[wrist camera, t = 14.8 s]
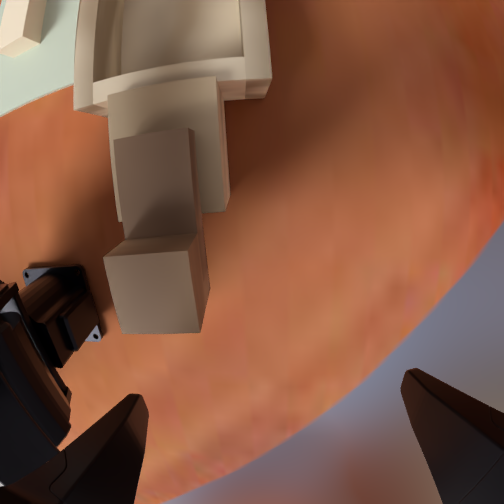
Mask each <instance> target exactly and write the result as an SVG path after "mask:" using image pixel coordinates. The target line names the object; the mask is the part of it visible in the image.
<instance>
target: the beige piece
mask: <svg viewBox="0 0 504 504" xmlns="http://www.w3.org/2000/svg"><path fill="white" fill-rule="evenodd" d="M271 80H272V68H271V57H270V46H269V35H268V25H267V15H266V5H265V0H81V4H80V11H79V18H78V27H77V36H76V48H75V63H74V110H76V111H81V112H85V113H90V114H94V115H99V116H103V117H107V118H108V127H109V143H110V156H111V167H112V177H113V186H114V194H115V202H116V209H117V216H118V222H122V216H121V209H120V201H119V194H118V185H117V176H116V167H115V156H114V143H113V140H115V139H120V138H125V137H130V136H135V135H141V134H147V133H153V132H159V131H166V130H173V129H180V128H190V129H192V130H194V131H195V143H196V156H197V168H198V180H199V191H200V202H201V212H202V213H214V212H225V211H226V208H227V204H228V201H229V198H230V195H231V194H230V181H229V168H228V154H227V140H226V125H225V110H224V101H228V100H241V99H259V98H265V96H266V93H267V91H268V88H269V85H270V83H271Z"/></svg>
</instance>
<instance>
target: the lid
mask: <svg viewBox="0 0 504 504" xmlns="http://www.w3.org/2000/svg"><path fill="white" fill-rule="evenodd" d="M80 4H81V0H2V2H1V6H0V117H2V116H4V115H5V114H7V113H9V112H11V111H13V110H15V109H17V108H19V107H22V106H24V105H26V104H28V103H30V102H32V101H35V100H37V99H39V98H41V97H44V96H46V95H49V94H51V93H53V92H56V91H58V90H61V89H64V88H66V87H69V86H72V85H74V63H75V48H76V36H77V27H78V18H79V11H80Z"/></svg>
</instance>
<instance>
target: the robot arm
mask: <svg viewBox="0 0 504 504" xmlns="http://www.w3.org/2000/svg"><path fill="white" fill-rule="evenodd" d="M77 270H79V272H80V274H79V273H78V272H77ZM27 273H28V274H29V275H28V274H27ZM23 277H24V281H25V284H26V287H25V288H23V289H22V290H21V291H19V289H18V286H17V283H16V282H13V283H9V284H4V282H2V281H1V280H0V483H1V484H2V485H4V486H2V487H0V504H134V500H135V495H136V491H137V486H138V481H139V476H140V472H141V467H142V463H143V458H144V453H145V446H146V436H147V427H148V418H149V412H148V409H147V406H146V404H145V401H144V399H143V397H142V395H140V394H129V395H127V396H126V397H125V398H124V399H123V400H122V401H120V402H119V403H118V404H117V405H116V406H115V407H113V408H112V409H111V410H110V411H109V412H108V413H106V414H105V415H104V416H103V417H102V418H100V419H99V420H98V421H97V422H96V423H95V424H93V425H92V426H91V427H90V428H89V429H87V430H86V431H85V432H84V433H83V434H81V435H80V436H79V437H78V438H77V439H75V440H74V441H73V442H72V443H71V444H69V445H68V446H67V447H66V448H65V449H63V450H62V451H61V452H60V451H59V450H58V449H57V447H58V446H59V445H60V444H61V443H62V441H63V440H64V439H65V438H66V436H67V434H68V433H69V431H70V428H71V424H70V423H69V419H70V412H71V409H70V401H71V395H72V393H71V391H70V389H69V388H68V387H67V386H66V385H65V384H64V382H63V380H62V379H61V377H60V375H59V374H58V372H57V370H56V369H55V368H56V367H57V368H63V366H64V365H65V363H66V362H67V361H68V359H69V358H70V357H71V355H72V354H73V352H74V351H78V350H79V348H80V347H81V346H82V344H83V343H84V342H85V341H93V342H99V341H100V340H101V339H102V338H103V333H102V330H101V327H100V324H99V318H98V315H97V312H96V308H95V305H94V301H93V298H92V294H91V292H90V290H89V286H88V282H87V278H86V274H85V270H84V268H83V266H81V265H80V264H73V265H59V266H45V267H31V268H26V269H25V270H24V271H23ZM18 291H19V292H18ZM95 334H97V335H98V336H96V335H95ZM401 394H402V397H403V401H404V404H405V407H406V410H407V413H408V416H409V419H410V423H411V426H412V428H413V431H414V433H415V435H416V437H417V440H418V442H419V445H420V447H421V449H422V452H423V454H424V457H425V459H426V461H427V464H428V466H429V469H430V471H431V474H432V476H433V479H434V481H435V484H436V487H437V489H438V492H439V494H440V497H441V500H442V502H443V504H504V413H502V412H500V411H498V410H496V409H494V408H492V407H489V406H488V405H486V404H484V403H483V402H481V401H479V400H477V399H475V398H473V397H471V396H469V395H467V394H465V393H463V392H461V391H459V390H457V389H456V388H454V387H451V386H450V385H448V384H446V383H444V382H442V381H440V380H439V379H437V378H435V377H433V376H431V375H429V374H427V373H425V372H424V371H422V370H420V369H418V368H413V369H410V370H407V371H406V372H405V375H404V378H403V381H402V385H401ZM46 462H47V463H46Z"/></svg>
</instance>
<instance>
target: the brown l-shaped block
mask: <svg viewBox="0 0 504 504" xmlns="http://www.w3.org/2000/svg"><path fill="white" fill-rule="evenodd" d="M113 143H114V156H115V167H116V176H117V185H118V194H119V201H120V209H121V216H122V222H123V229H124V235H125V240H124V241H123V242H121V243H120V244H119V245H118V246H116V247H115V248H114V249H112V250H111V251H110V252H109V253H107V254H106V255H105V256H104V257H103V260H104V265H105V270H106V274H107V278H108V283H109V287H110V291H111V295H112V299H113V302H114V306H115V310H116V314H117V317H118V321H119V324H120V327H121V331H122V334H177V333H200V332H201V327H202V323H203V318H204V313H205V309H206V304H207V300H208V296H209V291H210V282H209V274H208V266H207V258H206V249H205V240H204V231H203V222H202V212H201V202H200V191H199V180H198V168H197V156H196V143H195V131H194V130H192V129H190V128H180V129H173V130H166V131H159V132H153V133H147V134H141V135H135V136H130V137H125V138H120V139H115V140H113Z"/></svg>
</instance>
